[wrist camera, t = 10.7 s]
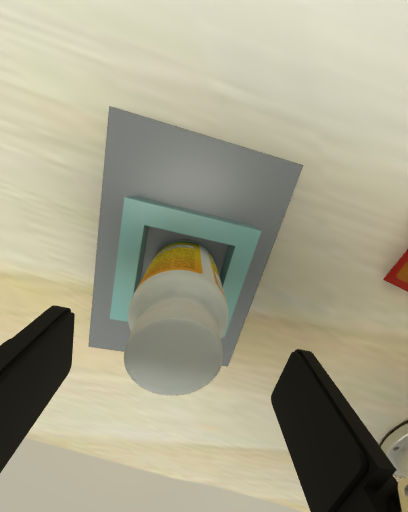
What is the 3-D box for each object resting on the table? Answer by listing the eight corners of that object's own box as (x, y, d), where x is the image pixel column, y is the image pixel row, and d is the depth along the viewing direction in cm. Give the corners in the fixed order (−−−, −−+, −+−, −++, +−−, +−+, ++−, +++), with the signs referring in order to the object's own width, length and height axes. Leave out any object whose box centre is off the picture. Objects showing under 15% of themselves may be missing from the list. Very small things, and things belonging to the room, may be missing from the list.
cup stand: (296, 166, 16) (319, 162, 13) (226, 358, 22) (231, 384, 19) (114, 111, 14) (95, 92, 11) (93, 338, 20) (77, 364, 17)
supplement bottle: (227, 263, 17) (268, 350, 8) (189, 306, 18) (188, 424, 9) (176, 224, 16) (157, 276, 7) (139, 273, 17) (79, 374, 8)
